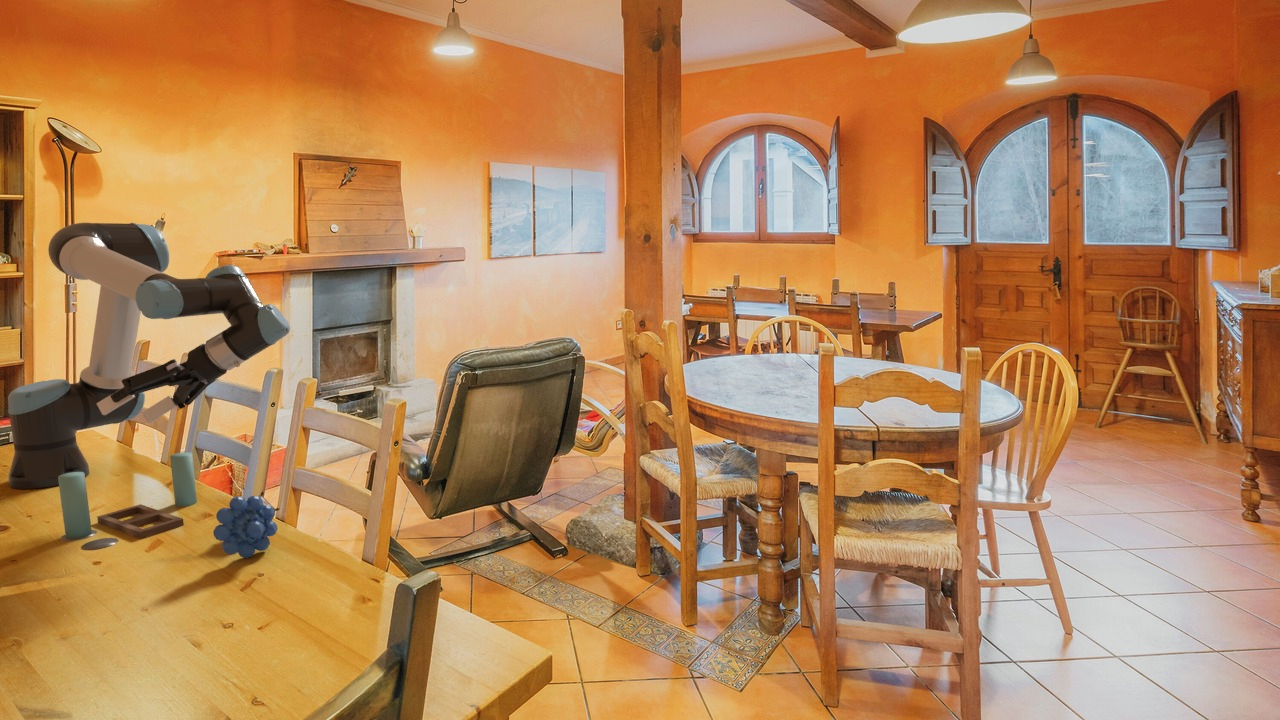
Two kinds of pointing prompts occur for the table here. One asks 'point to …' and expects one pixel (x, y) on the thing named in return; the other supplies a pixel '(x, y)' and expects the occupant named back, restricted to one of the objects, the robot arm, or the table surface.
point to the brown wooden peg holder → (140, 521)
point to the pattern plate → (94, 542)
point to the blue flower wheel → (245, 526)
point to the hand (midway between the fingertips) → (124, 413)
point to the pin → (75, 505)
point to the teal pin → (183, 479)
